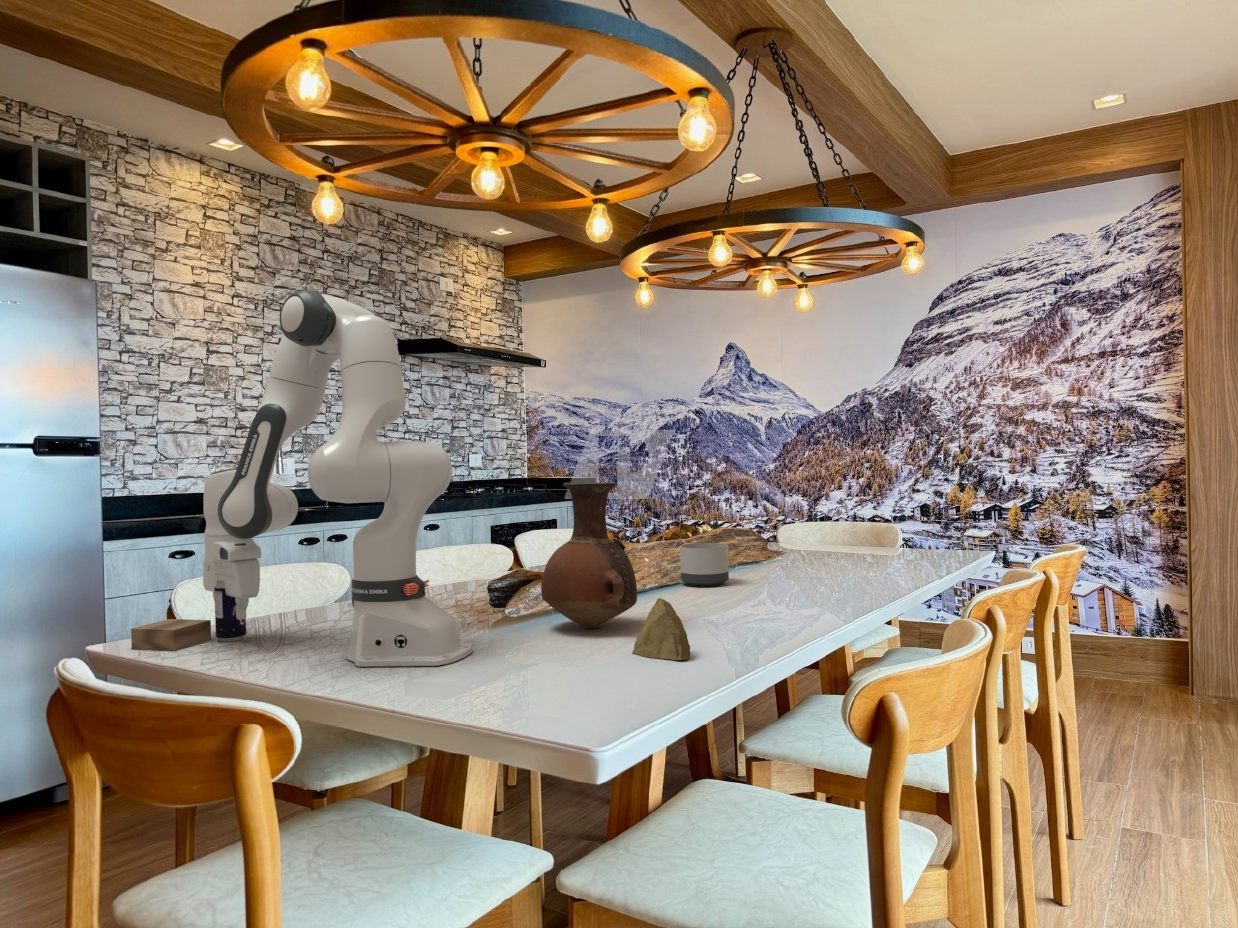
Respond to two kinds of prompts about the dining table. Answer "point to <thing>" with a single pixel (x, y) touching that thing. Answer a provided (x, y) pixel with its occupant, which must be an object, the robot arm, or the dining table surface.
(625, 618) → the dining table surface
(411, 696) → the dining table surface
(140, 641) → the walnut block
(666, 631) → the rock
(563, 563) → the vase
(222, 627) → the beverage can
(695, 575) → the planter
